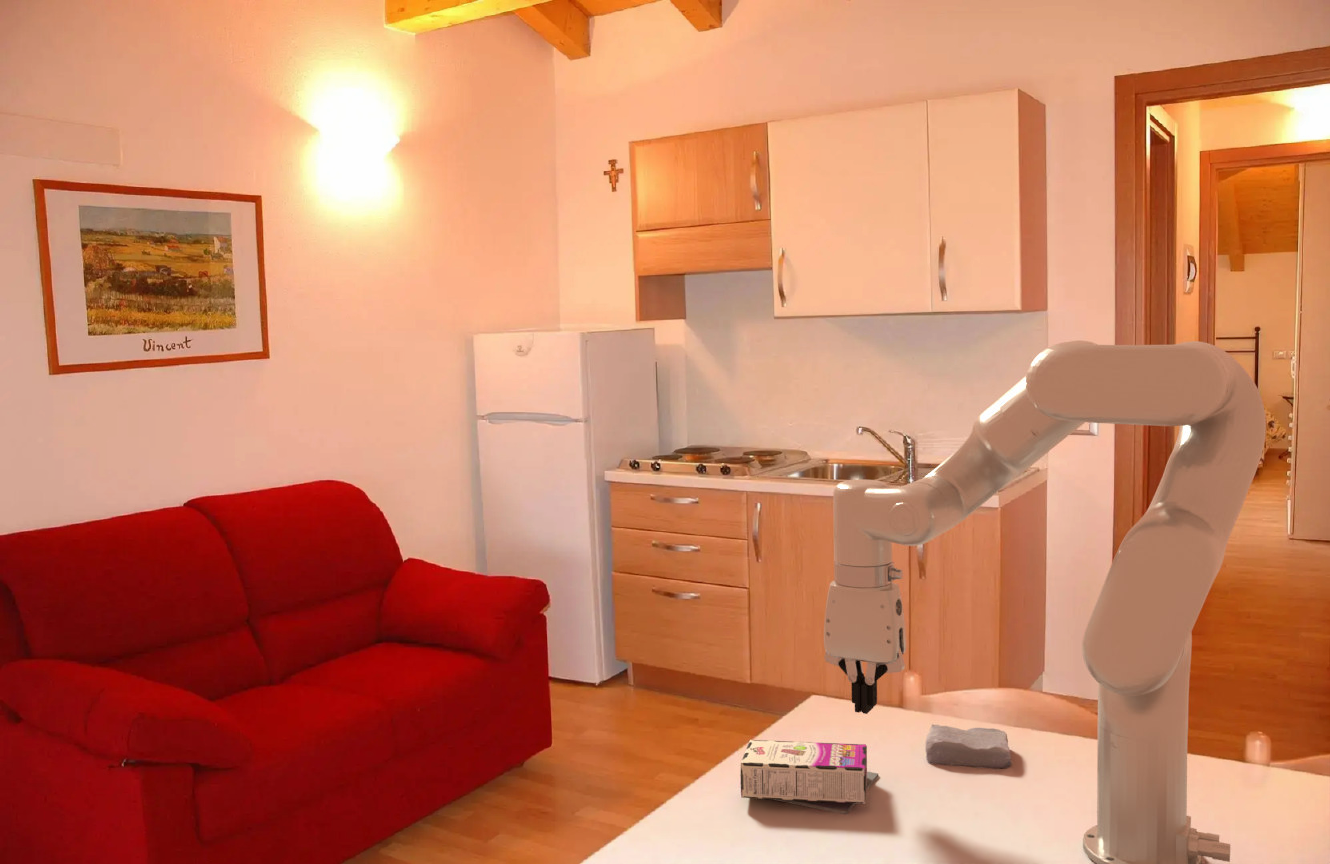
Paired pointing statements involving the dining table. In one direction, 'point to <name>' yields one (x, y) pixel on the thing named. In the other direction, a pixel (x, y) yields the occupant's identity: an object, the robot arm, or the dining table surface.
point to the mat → (832, 806)
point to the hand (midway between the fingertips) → (864, 709)
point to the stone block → (968, 747)
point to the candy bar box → (804, 771)
